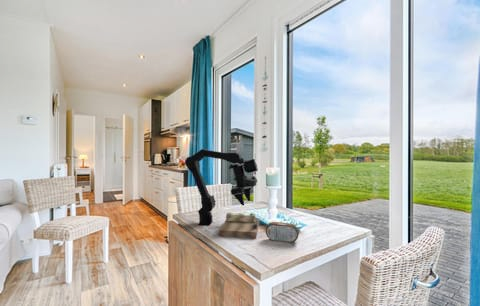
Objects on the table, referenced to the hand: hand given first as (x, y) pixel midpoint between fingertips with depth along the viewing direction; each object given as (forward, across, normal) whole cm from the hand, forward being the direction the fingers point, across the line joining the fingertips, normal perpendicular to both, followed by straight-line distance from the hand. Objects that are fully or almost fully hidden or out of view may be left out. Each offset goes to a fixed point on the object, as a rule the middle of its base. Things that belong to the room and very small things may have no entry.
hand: (246, 203), depth 128 cm
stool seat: (+12, -6, +4) cm, 14 cm away
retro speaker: (+17, -13, -19) cm, 29 cm away
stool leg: (+9, -1, +5) cm, 10 cm away
